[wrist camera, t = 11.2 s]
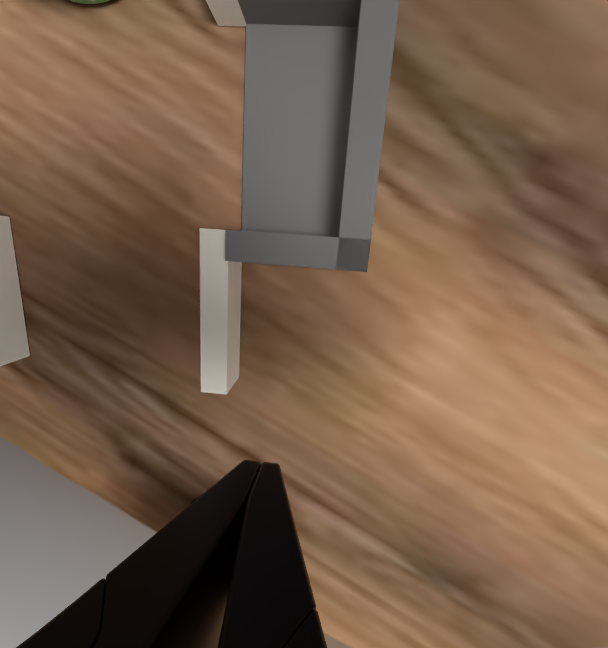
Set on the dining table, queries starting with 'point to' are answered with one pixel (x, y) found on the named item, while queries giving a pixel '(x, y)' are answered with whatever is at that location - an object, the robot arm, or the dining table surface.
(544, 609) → the dining table surface
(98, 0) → the ramekin
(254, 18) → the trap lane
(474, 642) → the dining table surface
